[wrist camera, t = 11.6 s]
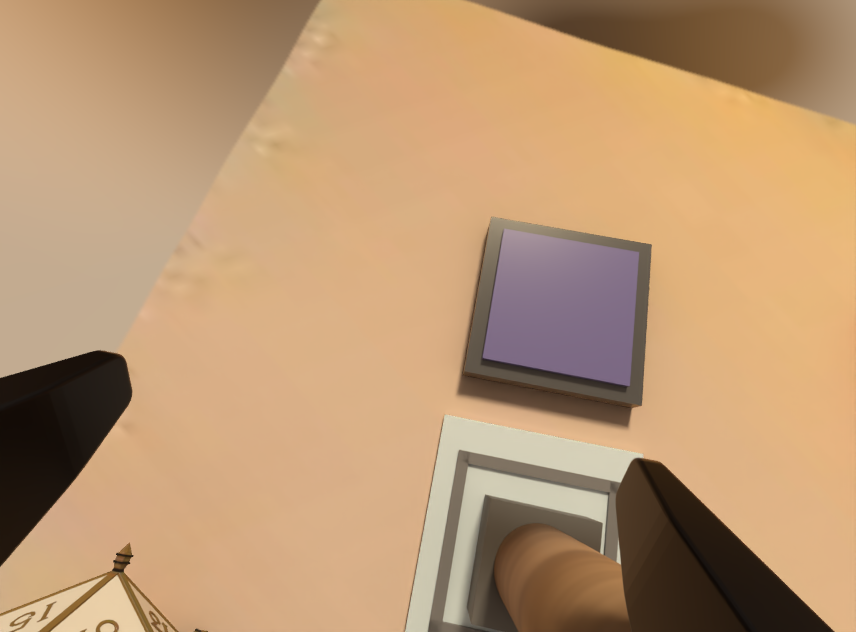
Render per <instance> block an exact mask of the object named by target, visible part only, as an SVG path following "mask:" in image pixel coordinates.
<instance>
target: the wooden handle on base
mask: <svg viewBox="0 0 856 632" xmlns="http://www.w3.org/2000/svg"><path fill="white" fill-rule="evenodd" d="M602 527H603V523H602V522H599V521H596V520H594V519H591V518H588V517H586V516H581V515H577V514H572V513H567V512H563V511H558V510H554V509H549V508H545V507H540V506H536V505H531V504H527V503H522V502H518V501H513V500H509V499H504V498H499V497H495V496H490V495H486V494H485V498H484V504H483V510H482V516H481V522H480V529H479V535H478V541H477V547H476V554H475V560H474V566H473V572H472V578H471V585H470V591H469V597H468V603H467V610H468V614H469V617H470V621H471V624H473V625H477V626H481V627H486V628H490V629H494V630H498V631H502V632H631V628H630V623H629V618H628V613H627V608H626V602H625V597H624V589H623V580H622V570H621V564H619V563H617V562H615V561H614V560H612V559H610V558H608V557H606V556H605V555H603V554H601V553H600V549H601V538H602Z"/></svg>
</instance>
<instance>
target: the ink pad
mask: <svg viewBox="0 0 856 632" xmlns="http://www.w3.org/2000/svg"><path fill="white" fill-rule="evenodd" d="M651 247H652V245H651V244H646V243H640V242H634V241H628V240H623V239H617V238H611V237H605V236H600V235H594V234H588V233H582V232H577V231H571V230H565V229H559V228H554V227H548V226H542V225H536V224H531V223H525V222H519V221H513V220H508V219H502V218H496V217H491V220H490V224H489V228H488V234H487V240H486V245H485V251H484V257H483V262H482V268H481V274H480V279H479V285H478V291H477V296H476V302H475V308H474V313H473V319H472V325H471V331H470V336H469V342H468V348H467V353H466V359H465V365H464V370H463V375H465V376H471V377H476V378H481V379H486V380H491V381H496V382H501V383H507V384H512V385H517V386H522V387H527V388H532V389H538V390H543V391H548V392H553V393H558V394H563V395H568V396H574V397H579V398H584V399H589V400H594V401H599V402H604V403H610V404H615V405H620V406H625V407H630V408H634V407H638V406H642V394H643V377H644V361H645V345H646V329H647V312H648V296H649V280H650V263H651Z"/></svg>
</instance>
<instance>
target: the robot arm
mask: <svg viewBox="0 0 856 632" xmlns="http://www.w3.org/2000/svg"><path fill="white" fill-rule="evenodd" d="M131 397H132V387H131V382H130V377H129V372H128V368H127V363H126V360H125V358H124V357H123V356H122V355H120V354H117V353H112V352H107V351H101V350H98V351H93V352H89V353H86V354H82V355H79V356H75V357H72V358H68V359H65V360H62V361H58V362H55V363H51V364H47V365H44V366H40V367H37V368H34V369H30V370H27V371H23V372H20V373H16V374H13V375H9V376H6V377H3V378H0V567H1V566H2V564H3V563H4V562H5V561H6V560H7V559H8V557H9V556H10V555H11V554H12V553H13V552H14V550H15V549H16V548H17V547H18V546H19V545H20V543H21V542H22V541H23V540H24V539H25V538H26V536H27V535H28V534H29V533H30V532H31V531H32V529H33V528H34V527H35V526H36V525H37V524H38V522H39V521H40V520H41V519H42V518H43V517H44V515H45V514H46V513H47V512H48V511H49V510H50V508H51V507H52V506H53V505H54V504H55V503H56V501H57V500H58V499H59V498H60V497H61V496H62V494H63V493H64V492H65V491H66V490H67V489H68V487H69V486H70V485H71V484H72V482H73V481H74V480H75V479H76V478H77V476H78V475H79V474H80V472H81V471H82V470H83V468H84V467H85V466H86V464H87V463H88V461H89V460H90V459H91V457H92V456H93V454H94V453H95V451H96V450H97V449H98V447H99V446H100V444H101V443H102V442H103V440H104V439H105V437H106V436H107V435H108V433H109V432H110V430H111V429H112V428H113V426H114V425H115V423H116V422H117V420H118V419H119V418H120V416H121V415H122V413H123V412H124V411H125V409H126V408H127V406H128V405H129V403H130V401H131ZM615 507H616V518H617V528H618V538H619V549H620V559H621V570H622V580H623V589H624V597H625V602H626V608H627V613H628V618H629V623H630V628H631V632H834V631H833V630H832V629H831V628H830V627H829V626H828V625H827V624H826V623H825V622H824V621H823V620H822V619H821V618H820V617H819V616H818V615H817V614H816V613H815V612H814V611H813V610H812V609H811V608H810V607H809V606H808V605H807V604H806V603H804V602H803V601H802V600H801V599H800V598H799V597H798V596H797V595H796V594H795V593H794V592H793V591H792V590H791V589H790V588H789V587H788V586H787V585H786V584H785V583H784V582H783V581H782V580H781V579H780V578H779V577H778V576H777V575H776V574H775V573H774V572H773V571H772V570H771V569H770V568H769V567H768V566H767V565H766V564H765V563H764V562H763V561H762V560H761V559H760V558H758V557H757V556H756V555H755V554H754V553H753V552H752V551H751V550H750V549H749V548H748V547H747V546H746V545H745V544H744V543H743V542H742V541H741V540H740V539H739V538H738V537H737V536H736V535H735V534H734V533H733V532H732V531H731V530H730V529H729V528H728V527H727V526H726V525H725V524H724V523H723V522H722V521H721V520H720V519H719V518H718V517H717V516H716V515H715V514H714V513H712V512H711V511H710V510H709V509H708V508H707V507H706V506H705V505H704V504H703V503H702V502H701V501H700V500H699V499H698V498H697V497H696V496H695V495H694V494H693V493H692V492H691V491H690V490H689V489H688V488H687V487H686V486H685V485H684V484H683V483H682V482H681V481H680V480H679V479H678V478H677V477H676V476H675V475H674V474H673V473H672V472H671V471H670V470H669V469H668V468H667V467H665V466H664V465H663V464H662V463H660V462H658V461H654V460H649V459H644V458H634V459H633V460H632V461H631V463H630V464H629V466H628V468H627V471H626V473H625V475H624V477H623V479H622V481H621V483H620V485H619V487H618V490H617V493H616V498H615Z"/></svg>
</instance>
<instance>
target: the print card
mask: <svg viewBox="0 0 856 632" xmlns="http://www.w3.org/2000/svg"><path fill="white" fill-rule="evenodd" d="M634 458H643V454H640V453H635V452H630V451H625V450H620V449H615V448H610V447H605V446H600V445H595V444H590V443H585V442H580V441H575V440H570V439H565V438H560V437H555V436H550V435H545V434H540V433H535V432H530V431H525V430H520V429H515V428H510V427H505V426H500V425H495V424H490V423H485V422H480V421H475V420H470V419H465V418H460V417H455V416H450V415H445V416H444V421H443V427H442V432H441V438H440V443H439V449H438V454H437V459H436V465H435V470H434V476H433V481H432V487H431V492H430V498H429V503H428V509H427V514H426V520H425V525H424V531H423V536H422V542H421V547H420V553H419V558H418V563H417V569H416V574H415V580H414V585H413V591H412V596H411V602H410V607H409V613H408V618H407V624H406V629H405V632H502V631H498V630H494V629H490V628H486V627H481V626H477V625H473V624H471V621H470V617H469V614H468V610H467V603H468V597H469V591H470V585H471V578H472V572H473V566H474V560H475V554H476V547H477V541H478V535H479V529H480V522H481V516H482V510H483V504H484V498H485V494H486V495H490V496H495V497H499V498H504V499H509V500H513V501H518V502H522V503H527V504H531V505H536V506H540V507H545V508H549V509H554V510H558V511H563V512H567V513H572V514H577V515H581V516H586V517H588V518H591V519H594V520H596V521H599V522H602V523H603V527H602V538H601V549H600V553H601V554H603V555H605V556H606V557H608V558H610V559H612V560H614V561H615V562H617V563H619V564H621V559H620V549H619V538H618V528H617V518H616V507H615V498H616V493H617V490H618V487H619V485H620V483H621V481H622V479H623V477H624V475H625V473H626V471H627V468H628V466H629V464H630V463H631V461H632V460H633V459H634Z"/></svg>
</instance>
